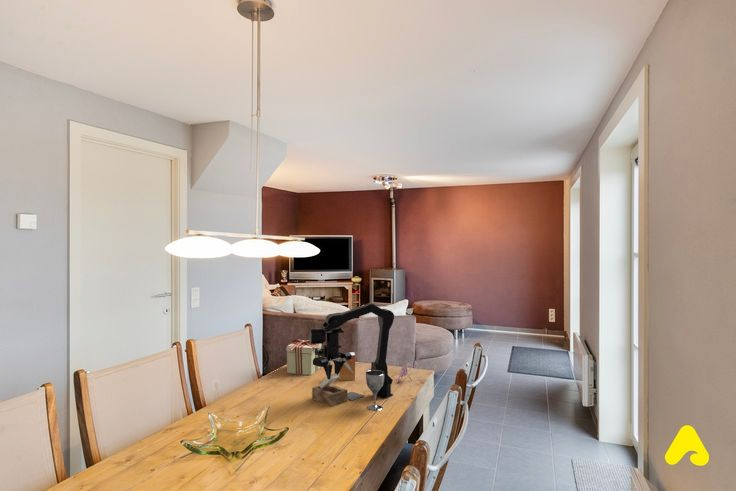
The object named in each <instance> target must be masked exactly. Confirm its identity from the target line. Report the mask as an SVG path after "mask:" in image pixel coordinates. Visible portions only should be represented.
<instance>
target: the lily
mask: <svg viewBox="0 0 736 491" xmlns="http://www.w3.org/2000/svg"><path fill="white" fill-rule="evenodd" d="M410 364H411V363H410V362H408V363H406V365H405V366H402V367H401V368H400V370H399V375H398V377H397V380H396V384H397V383H398V381H400V379H401V378H402V377H407V376H408V378H409V379H410V380H411V382H413V380H412V379H411V377H410V376H409V375H408V367H409V366H410Z"/></svg>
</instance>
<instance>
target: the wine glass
mask: <svg viewBox="0 0 736 491" xmlns="http://www.w3.org/2000/svg"><path fill="white" fill-rule="evenodd" d="M365 383H366V387H367V388H368V389H369V390H370V392H371V393H372V396H373V404H368V405H367V406H366V409H367V410H368V411H371V412H379V411H382V410H383V409H384V407H383V406H382V405H380V404H377V403H376V402H377V396H376V395H377V393H378V391H379V390H380V389H381V388H382V386H383V383H384V372H383V371H380V370H367V371H366V372H365Z"/></svg>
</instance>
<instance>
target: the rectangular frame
mask: <svg viewBox="0 0 736 491" xmlns="http://www.w3.org/2000/svg"><path fill="white" fill-rule="evenodd" d="M311 390H312V391H311V392H312V393H311V399H312V400H314V401H317V402H318V403H322V404H325V405H327V406H329V407H335V406H339V405H340V404H341V405H342V404H344V403H346V402H348V399H347V393H348V389H346V388H343V387H340V386H337V385H334V384H332V383H331V384H330V385H329V386H328V387H325V388H322V389H321V387H320V385H318V386H314V387H312V388H311Z"/></svg>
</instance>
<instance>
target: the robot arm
mask: <svg viewBox="0 0 736 491" xmlns="http://www.w3.org/2000/svg"><path fill="white" fill-rule="evenodd" d="M370 313H372V314H374V315H376V316H377V322H378V327H379V332H378V340H377V349H376V358H375V360H374V361H371V362H370V363H371V367H370V370H380V371H383V372H384V383H383V386H382V388H381V389H380V390H379V391H378V393H377V395H376V397H378V398H382V399H388V398H389V397H392V396H394V394H393V393H392V384H393V381H394V380H393V378H391V376H389V372H388V370H389V369H388V365H387V356H388V347H389V346H388V345H389V344H388V343H389V335H390V329H391V328H392V325H393V323H394V320H395V314H394V313H393V311H392V310H389V309H387V308H381V307H379V306H377V305H376V304H374V303H372V302H368V303H366V304H363V305H361V306H357V307H355V308H352V309H350V310H346V311H342V312H334V313H329V314H327V315H326V317H325V321H324V323H323V324H322V325H321V327H320V328H312V327H311V328H310V329H309V330H310V331H309V335H308V340H309V343H310V344H322V345H323V344H324V343H325V342H326V343H325V344H324V346H323V348H321V349H320V347H319V348H315V355H318V357H317V358H314V359H313V365H316V366H319V367H321V368H323V370H324V372H325V375H326V378H328V379H330V377H331V374H332V370H333V369H334V374H335V373H337V375H338V376H339V372H340V370H341V368H342V366H343V364H344V363H345V362H346V361H344V359H343V358H345V359H346V360H350V359H351V353H349V351H345V350H343V351H340V348H341V349H342V345H341V344H340V334H342V333H344V331H345V330H343V328H341V326H344V324H346V323H347V322H349V321H352V320H354V319H357V318H360V317H362V316H366V315H368V314H370ZM320 356H321V357H320ZM331 362H333V364H331ZM333 366H334V368H333Z"/></svg>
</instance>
